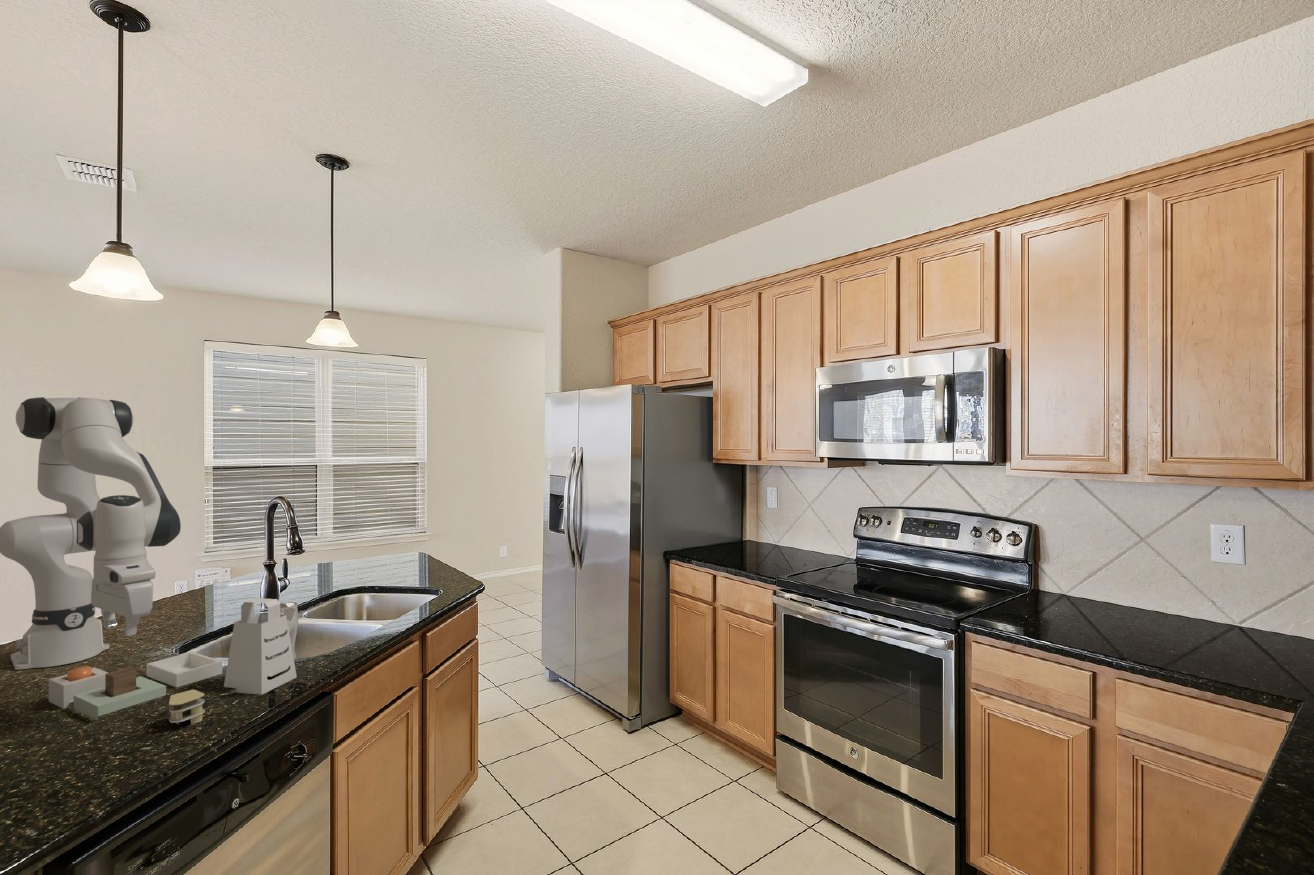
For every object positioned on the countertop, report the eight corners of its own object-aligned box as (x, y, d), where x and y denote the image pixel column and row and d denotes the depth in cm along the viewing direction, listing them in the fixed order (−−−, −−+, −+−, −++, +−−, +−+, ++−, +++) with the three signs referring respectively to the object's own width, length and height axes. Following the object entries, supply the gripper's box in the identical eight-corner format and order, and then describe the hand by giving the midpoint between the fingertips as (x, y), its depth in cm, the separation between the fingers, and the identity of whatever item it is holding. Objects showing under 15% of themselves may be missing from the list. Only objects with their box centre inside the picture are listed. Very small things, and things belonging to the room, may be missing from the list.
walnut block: (105, 701, 134) (105, 673, 134) (127, 694, 138) (127, 667, 138) (113, 704, 132) (113, 677, 132) (136, 697, 136) (136, 670, 136)
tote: (146, 680, 148) (146, 663, 148) (191, 667, 157) (191, 651, 157) (176, 691, 141) (176, 674, 141) (222, 677, 150) (222, 661, 150)
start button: (64, 684, 137) (64, 671, 137) (87, 678, 141) (87, 665, 141) (71, 687, 135) (71, 674, 135) (95, 681, 139) (95, 668, 139)
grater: (260, 674, 152) (260, 594, 152) (296, 677, 150) (296, 596, 150) (222, 691, 141) (222, 605, 142) (261, 694, 140) (261, 607, 140)
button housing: (48, 701, 136) (48, 679, 136) (94, 688, 143) (94, 667, 143) (63, 708, 132) (63, 685, 132) (110, 695, 139) (110, 673, 139)
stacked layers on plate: (151, 724, 126) (151, 698, 126) (203, 709, 133) (203, 684, 133) (165, 739, 119) (165, 711, 119) (219, 722, 126) (219, 696, 126)
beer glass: (304, 659, 162) (304, 602, 162) (280, 668, 156) (280, 609, 156) (285, 656, 165) (285, 600, 165) (260, 665, 158) (260, 607, 158)
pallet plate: (73, 709, 132) (73, 695, 132) (140, 689, 143) (140, 676, 143) (97, 720, 127) (97, 706, 127) (166, 699, 137) (166, 685, 137)
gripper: (81, 566, 137) (81, 628, 137) (123, 577, 127) (123, 643, 127) (117, 561, 143) (116, 620, 143) (159, 571, 133) (159, 634, 133)
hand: (120, 631), depth 135 cm, fingers open, 8 cm apart
